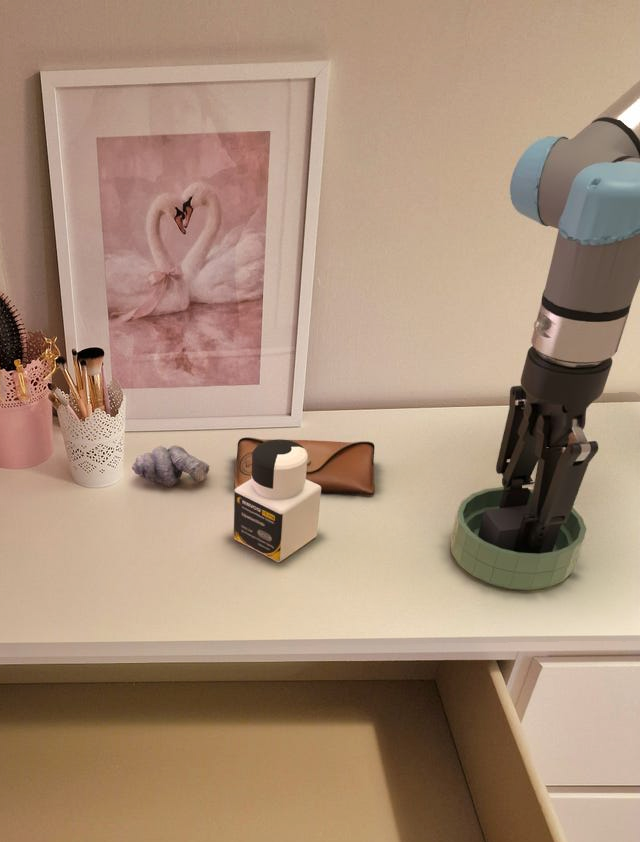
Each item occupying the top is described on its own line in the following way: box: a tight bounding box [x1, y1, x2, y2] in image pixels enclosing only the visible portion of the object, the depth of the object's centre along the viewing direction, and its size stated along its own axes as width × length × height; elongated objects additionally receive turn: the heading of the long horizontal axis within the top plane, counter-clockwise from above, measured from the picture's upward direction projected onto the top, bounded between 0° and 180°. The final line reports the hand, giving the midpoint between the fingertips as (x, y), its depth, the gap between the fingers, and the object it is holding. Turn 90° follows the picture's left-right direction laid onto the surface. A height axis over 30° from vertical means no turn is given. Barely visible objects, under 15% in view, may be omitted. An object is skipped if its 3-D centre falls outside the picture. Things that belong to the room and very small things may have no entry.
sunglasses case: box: [234, 436, 376, 495], centre depth 111 cm, size 18×7×7 cm
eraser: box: [478, 505, 562, 554], centre depth 96 cm, size 7×4×5 cm, turn 99°
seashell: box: [131, 444, 210, 488], centre depth 111 cm, size 5×5×10 cm
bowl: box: [450, 486, 587, 591], centre depth 97 cm, size 13×13×5 cm
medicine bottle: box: [233, 438, 322, 563], centre depth 99 cm, size 7×7×12 cm
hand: (513, 550), depth 97 cm, fingers closed on eraser, 4 cm apart
